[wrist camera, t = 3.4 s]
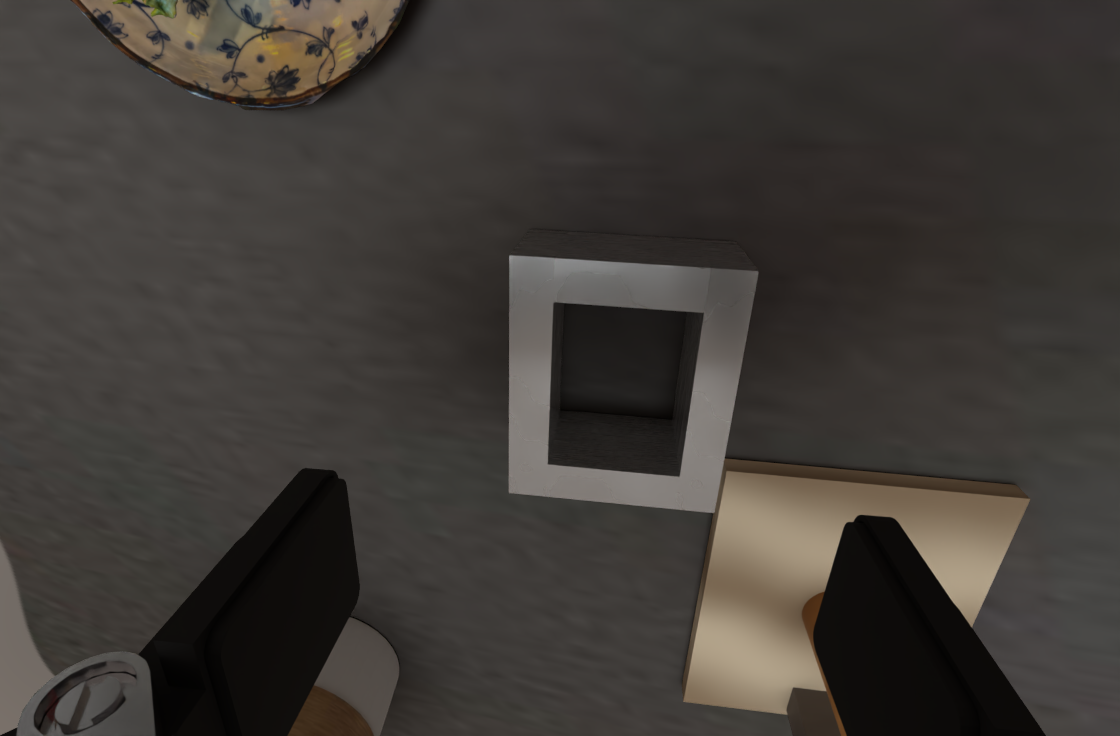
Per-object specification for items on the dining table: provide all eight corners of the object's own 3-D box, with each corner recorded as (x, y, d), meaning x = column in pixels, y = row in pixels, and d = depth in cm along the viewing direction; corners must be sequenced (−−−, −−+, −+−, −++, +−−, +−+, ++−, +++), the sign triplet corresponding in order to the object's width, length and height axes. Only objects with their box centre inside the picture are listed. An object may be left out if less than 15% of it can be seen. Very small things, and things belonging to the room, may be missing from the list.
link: (530, 229, 19) (509, 255, 15) (736, 241, 18) (758, 271, 15) (526, 435, 22) (509, 492, 19) (701, 451, 21) (714, 512, 18)
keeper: (723, 458, 21) (771, 643, 14) (1015, 485, 20) (1229, 696, 13) (681, 684, 26) (702, 908, 19) (915, 713, 25) (1029, 958, 18)
